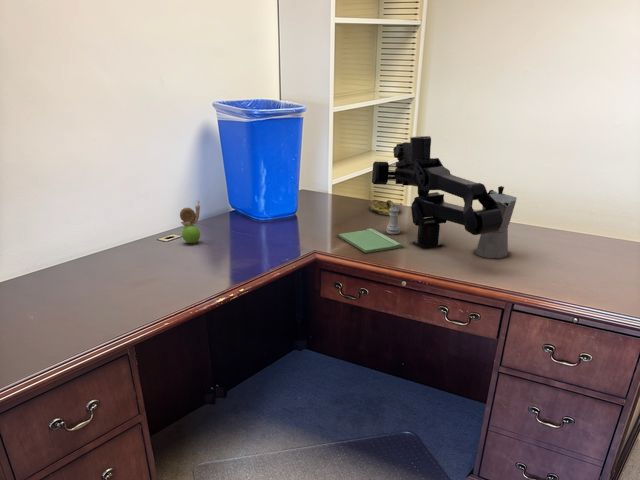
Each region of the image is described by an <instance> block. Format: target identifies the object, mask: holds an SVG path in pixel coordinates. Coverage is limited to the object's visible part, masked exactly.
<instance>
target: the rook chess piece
mask: <svg viewBox="0 0 640 480" xmlns="http://www.w3.org/2000/svg"><path fill="white" fill-rule="evenodd" d="M396 206H397V207H396ZM389 210H390V215H389V222H388V224H387V226H386V233H387V234H388V235H391V236H393V235H395V236H396V235H399V234H401V226H400V224H399V215H400V214H399V213H400V211H401V208H400V206H399V205H396V204H394V207H393V206H391V207H390V209H389ZM398 212H399V213H398Z"/></svg>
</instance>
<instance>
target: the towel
mask: <svg viewBox="0 0 640 480" xmlns="http://www.w3.org/2000/svg"><path fill="white" fill-rule="evenodd" d="M338 237H339V238H340V239H342V240H343V241H345V242H347V243H348V244H350V245H351V246H354V247H355V248H357V249H358V250H360V251H362V252H363V253H365V254H370V253H376V252H382V251H388V250H393V249H400V248H403V244H402V243H400V242H398V241H396V240H394V239H393V238H390V237H389V236H387V235H386V234H383V233H382V232H379V231H378V230H375V229H374V228H371V227H370V228H367V229H364V230H358V231H351V232H344V233H339V234H338Z"/></svg>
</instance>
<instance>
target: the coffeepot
mask: <svg viewBox="0 0 640 480" xmlns="http://www.w3.org/2000/svg"><path fill="white" fill-rule="evenodd" d="M504 189H505V186H503V185H500V186H498V187H497V191H495V190H494V189H490V190H489V191H487V193H488V194H489V195H490V196H491V197H492V198H493V199H494V200H495V201H496V202H497V204H498V206H499V209H500V212H501V214H502V217H503V222H502V225H501V227H500V229H499V230H498V231H497V232H492V233H486V234H480V235H479V239H478V243H477V247H476V250H475V254H476V255H477V256H479V257H481V258H487V259H502V258H505V257H507V256H508V253H509V243H508V242H509V237H508V236H509V231H508V229H509V225H510V222H511V219H512V216H513V213H514V209H515V206H516V202H517V200H518V199H517V198H518V197H517V196H513V195H510V194H506V193H504ZM481 207H482V208H481V209H486V208H485V207H484V206H483V205H482V204H481Z"/></svg>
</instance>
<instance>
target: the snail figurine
mask: <svg viewBox="0 0 640 480" xmlns="http://www.w3.org/2000/svg"><path fill="white" fill-rule="evenodd" d="M197 203H198V204H196V205H195V211H194V209H193V208H191V207H184V208H182V209H181V210H180V211H179V218H180V220H181V222H180V224H181V225H183V226H184V227H183V228H182V230H181V237H182V240H184V242H186V243H188V244H195V243H198V241H199V240H200V238H201V231H200V229H199V228H198V227H197V226H196V223H198V221H199V219H200V210H201V205H200V200H197Z"/></svg>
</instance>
